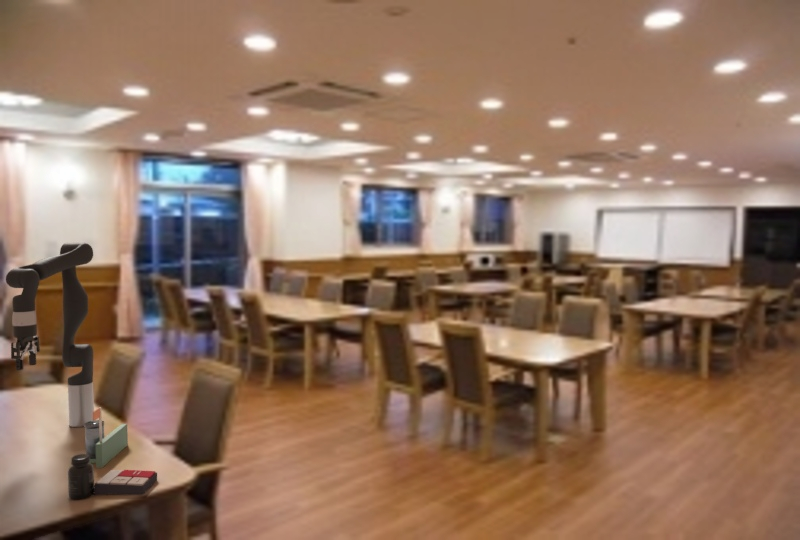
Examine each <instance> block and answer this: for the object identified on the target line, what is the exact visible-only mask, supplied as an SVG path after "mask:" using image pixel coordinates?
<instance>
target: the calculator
mask: <svg viewBox="0 0 800 540" xmlns="http://www.w3.org/2000/svg"><path fill="white" fill-rule="evenodd" d="M157 481H158V472H156V471H155V470H154V471H153V470H140V469H139V470H138V469H137V470H135V469H133V470H132V469H123V470H122V469H111V470H109V471H108V472H107V473H106V474H104V475H103V476H102V477H101V478H99V479H98V480H97V481H96V482H94V494H93V495H94V496H108V495H121V496H122V495H123V496H128V495H129V496H131V495H132V496H134V495H135V496H136V495H138V496H140V495H141V496H143V495H144V494H146V492H148V491H149V489H150V488H151V487H152V486H154V484H155V483H156V482H157Z"/></svg>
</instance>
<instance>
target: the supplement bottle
mask: <svg viewBox="0 0 800 540" xmlns="http://www.w3.org/2000/svg"><path fill="white" fill-rule="evenodd" d="M89 462H90V459H89V455H88V454H86V453H82V454H81V453H80V454H77V455H76V454H75V455H74V456H72V457H71V463H70V464H71V466H70V467H69V468H68V469H67V480H68V485H67V486H68V497H69V499H70V500H73V501H83V500H86V499H89V498H91V497H92V496H93V495H94V484H95V472H94V471H95V470H94V465H93V463H89Z"/></svg>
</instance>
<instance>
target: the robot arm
mask: <svg viewBox="0 0 800 540" xmlns="http://www.w3.org/2000/svg"><path fill="white" fill-rule="evenodd" d="M93 249H94V248H93V247H92V246H91V244H89V243H86V242H65V243H63V244H62V245H61V247H60V249H59V254H57V255H54V256H49V257H45V258H42V259H40V260H38V261H35V262H33V263H31V264H26V265H22V266H18V267H15V268H12V269H11V270H9V271H8V272H7V273H6V276H5V282H6V284H7V285H8V286H9V287H10V288H13V289H22V291H21V293H20V294H17V295H15V296H13V297H12V317H11V320H12V337H13V338H15V339H16V342H13V341H11V343H10V356H11V360H14V361H15V370H16V371H23V370H24V356H25V355H26V354H27V353H28V364H29V366H36V365H37V355H38V353H39V352H40V351H41V349H40V337H39V336H37V335H38V325H37V324H38V323H37V320H38V319H37V313H36V297H37V292H38V290H39V286H40V282H41V281H44V280H46V279H48V278H50V277H52V276H55V275H56V274H58V273H61V278H62V279H61V280H62V312H63V313H62V314H63V315H62V316H63V318H62V319H63V333H62V334H63V337H62V338H63V339H62V349H61V350H62V351H61V352H62V353H61V356H62V357H61V358H62V359H61V360H62V364H63V366H64V367H65V368H81V371H80V372H78V373H75V374H72V375H70V376H68V378H67V395H68V396H67V397H68V398H67V399H68V400H67V401H68V423H69V425H68V426H69V427H71V428H81V427H85V423H87V422H89V421H93V412H94V411H95V405H94V403H95V402H94V401H95V400H94V348H93V346H92V345H91V344H86V343H85V344H84V343H83V344H82V343H81V344H75V338H76V337H75V336H76V334H77V331H78V329H79V328H80V326H81V325H82V323H83V322H84V320H85V319H86V317H87V316H88V314H89V296H88V293H87V292H86V290H85V288H84V287H83V285H82V283H81V282H80V280H79V278H78V275H77V268H76V267H77V266H78V267H79V266H82V265H87V264H89V263H91V261H93V258H94V250H93Z"/></svg>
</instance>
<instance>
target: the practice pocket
mask: <svg viewBox="0 0 800 540" xmlns="http://www.w3.org/2000/svg"><path fill="white" fill-rule="evenodd" d="M102 419H103V416H102V407H98V408H96V409H94V412H93V421H95V420H99V434H100V441H99V442H98V443H97V444H95V446H96V459H90V462H89V463H91V464H95V467H96V469H98V468H104V467H105V465H107V464H108V463H109V462H111V461H112V459H114V458H116V456H117V455H118V454H120V452H121V451H123V450H124V449H125V448H126V447H127V446H128V445H129V443H128V442H129V441H128V438H129V437H128V436H129V435H128V423H121V424H120V425H119V426H118V427H116V428H115V429H114V430H112V431H111V432H110V433H108V434H107V435H106V436H104V438H103V439H102V421H103V420H102Z"/></svg>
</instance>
